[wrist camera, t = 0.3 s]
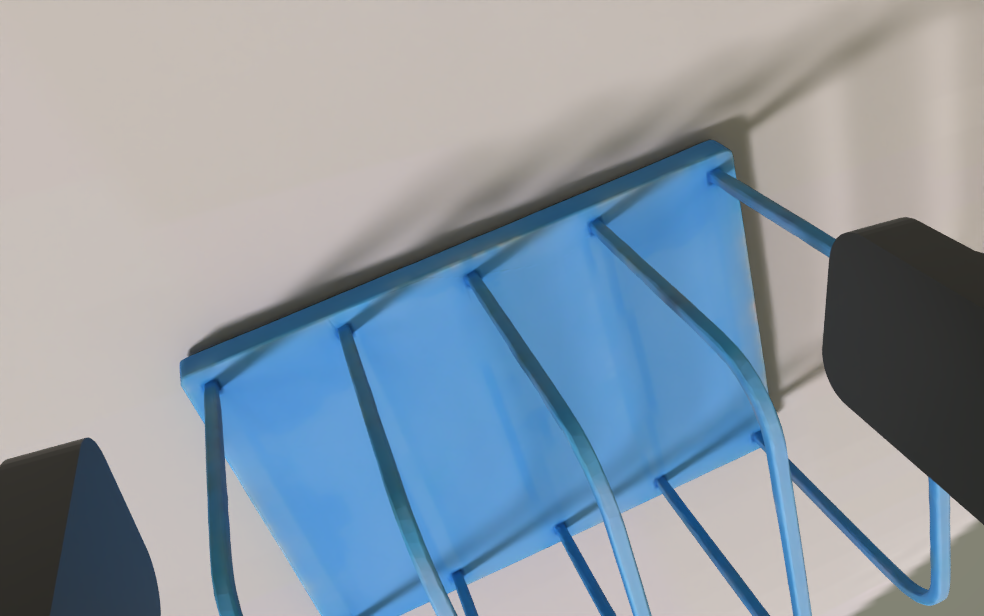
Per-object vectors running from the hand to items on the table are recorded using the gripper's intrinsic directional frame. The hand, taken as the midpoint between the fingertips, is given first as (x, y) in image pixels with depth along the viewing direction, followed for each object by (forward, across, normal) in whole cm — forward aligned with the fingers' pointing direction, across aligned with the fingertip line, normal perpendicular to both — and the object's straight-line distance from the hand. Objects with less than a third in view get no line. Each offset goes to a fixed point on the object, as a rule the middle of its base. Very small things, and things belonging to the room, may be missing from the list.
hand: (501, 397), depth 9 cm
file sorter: (+26, -6, +19) cm, 33 cm away
